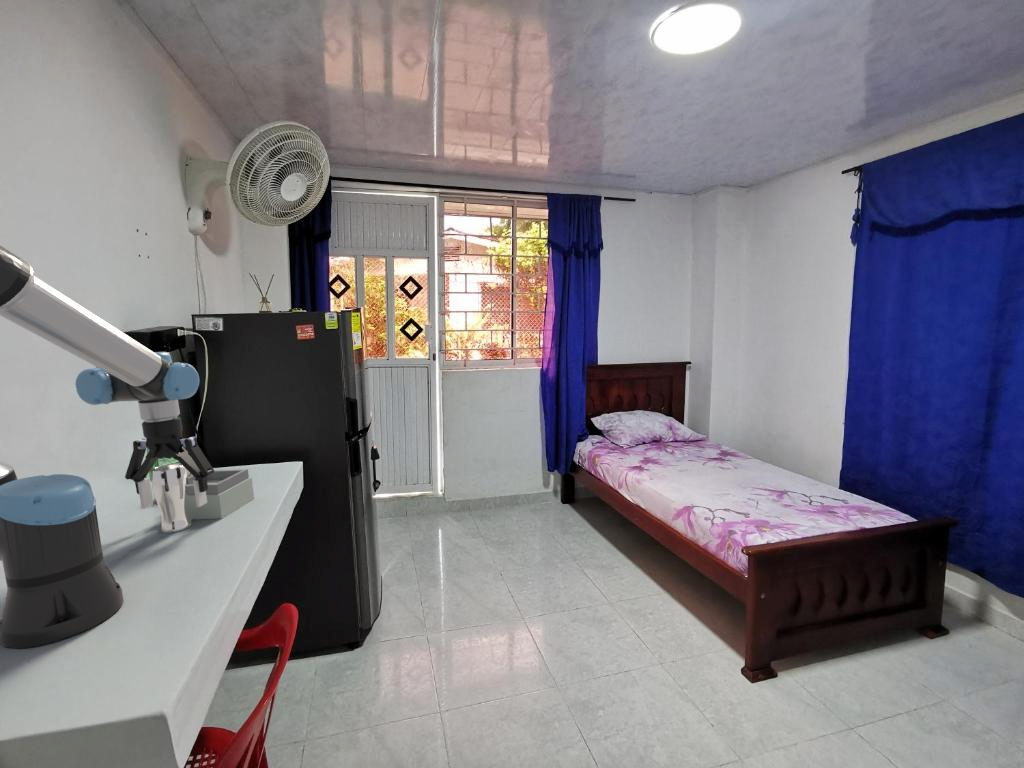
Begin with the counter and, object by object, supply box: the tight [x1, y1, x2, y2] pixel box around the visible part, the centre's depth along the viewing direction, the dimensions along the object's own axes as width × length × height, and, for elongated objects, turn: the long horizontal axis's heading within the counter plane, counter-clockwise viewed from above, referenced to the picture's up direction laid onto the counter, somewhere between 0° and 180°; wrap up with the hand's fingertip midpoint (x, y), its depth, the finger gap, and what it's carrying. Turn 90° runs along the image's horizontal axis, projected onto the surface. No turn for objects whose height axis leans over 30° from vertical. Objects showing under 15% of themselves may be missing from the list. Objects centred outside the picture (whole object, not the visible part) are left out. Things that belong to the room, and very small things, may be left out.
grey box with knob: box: [187, 468, 255, 520], centre depth 130 cm, size 14×17×8 cm
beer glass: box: [150, 462, 193, 534], centre depth 118 cm, size 7×7×15 cm
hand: (174, 505), depth 119 cm, fingers open, 13 cm apart
